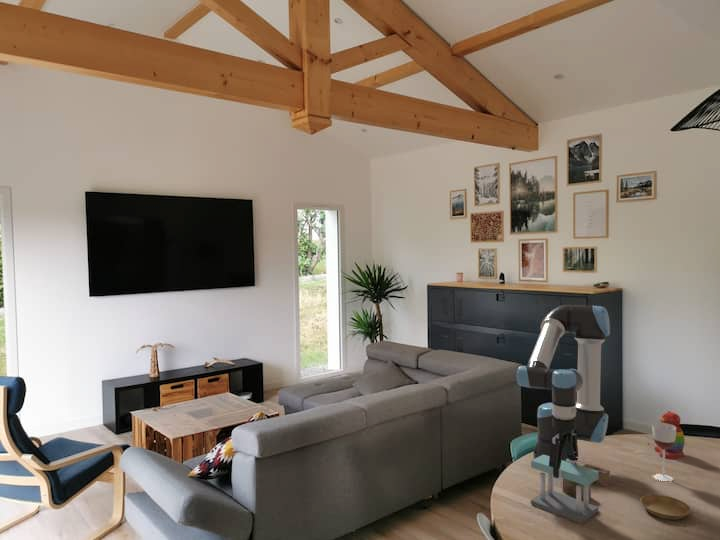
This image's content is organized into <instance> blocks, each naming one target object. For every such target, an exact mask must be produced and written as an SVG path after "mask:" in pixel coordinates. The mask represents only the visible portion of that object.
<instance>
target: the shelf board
mask: <svg viewBox="0 0 720 540" xmlns="http://www.w3.org/2000/svg"><path fill="white" fill-rule="evenodd" d="M549 458H550V456H547V455H541V456H539V457H537V458H535V459H534V458H532V459H531V461H530V464H531V465H530V466H531V468H532V469H535V470H538V471H541V472H542V473H545V474H546V473H547V474H548V473H549V474H552V475H553V467H550V466H549ZM583 466H584V465H579V464H576V463H575V464H573V463H570V462H566V461H563V460H562V461H561V466H560V468H562V479H563V478H564V479H567V480H570V481H573V482H576V483H579V484H582V485H585V486H588V485H589V484H591V485H592V484H593V482H594V481H596V480H597V479H599V471H596V470H593V469H589V468H586V467H583Z"/></svg>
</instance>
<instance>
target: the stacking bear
mask: <svg viewBox="0 0 720 540" xmlns="http://www.w3.org/2000/svg"><path fill="white" fill-rule="evenodd" d="M660 423H667V424H671V425H674V426H675V427H676V439H675V442H674V444H673V446H672V447H670V448H667V449H665V459H671V460H672V458H674V459H681V458H683V457H684V456H685V455H684V447H685V442H686V441H685V435H684V432H683V429H682V427H680V425H681V417H680V416H679V415H678V414H677V413H675V412H672V411H669V410H668V411H667V412H665V413H664V414H663V415H662V416H661V417H660ZM654 451H655V452H657V453H659V456H660V457H661V458H663V449H662V448H661V447H659V446H658V445H656V446H654Z"/></svg>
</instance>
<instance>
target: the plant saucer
mask: <svg viewBox="0 0 720 540" xmlns="http://www.w3.org/2000/svg"><path fill="white" fill-rule="evenodd" d="M639 502H640V504H641V505H642V506H643V508H645V510H646V511H647V512H648V513H650V514H651V515H653V516H655V517H657V518H661V519H664V520H669V521H671V520H673V521H676V520H681V519H684V518H686V516H688V515H689V514H691V512H692V511H691V510H692V509H691V507H690V506H689V505H688V504H687V503H686V502H684V501H682V500H680V499H678V498H675V497H672V496H667V495H661V494H648V495H643V496H642V497H641V498H640V499H639Z"/></svg>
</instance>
